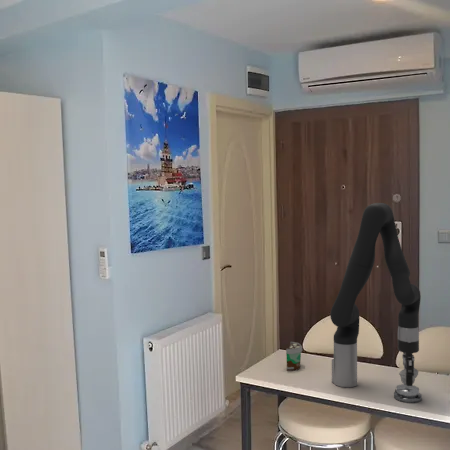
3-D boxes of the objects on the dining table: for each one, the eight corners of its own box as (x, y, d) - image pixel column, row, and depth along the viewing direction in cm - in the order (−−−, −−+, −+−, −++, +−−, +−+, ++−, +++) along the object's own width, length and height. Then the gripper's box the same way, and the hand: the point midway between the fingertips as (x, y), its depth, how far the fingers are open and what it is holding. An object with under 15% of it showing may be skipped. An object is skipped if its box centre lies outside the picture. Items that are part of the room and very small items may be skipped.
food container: (300, 373, 232) (300, 350, 232) (286, 371, 234) (286, 349, 233) (304, 364, 244) (304, 342, 243) (291, 363, 246) (290, 341, 245)
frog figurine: (420, 388, 199) (420, 369, 199) (400, 387, 200) (400, 369, 200) (416, 382, 205) (416, 364, 205) (397, 382, 206) (397, 364, 206)
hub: (388, 397, 203) (388, 388, 203) (402, 390, 210) (402, 381, 210) (413, 405, 195) (413, 395, 195) (427, 397, 202) (427, 388, 202)
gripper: (396, 332, 209) (396, 375, 210) (399, 343, 195) (399, 388, 196) (416, 333, 208) (416, 376, 209) (421, 344, 194) (421, 389, 195)
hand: (408, 382), depth 203 cm, fingers closed on frog figurine, 6 cm apart
